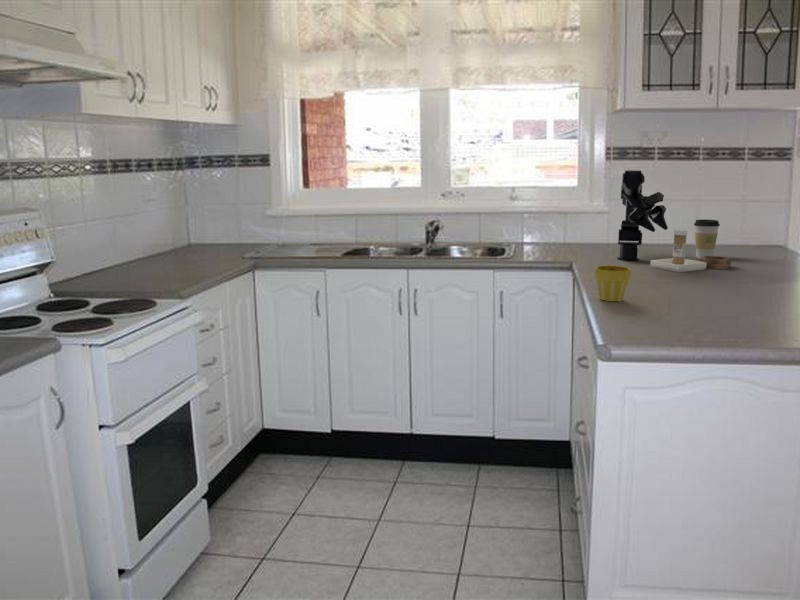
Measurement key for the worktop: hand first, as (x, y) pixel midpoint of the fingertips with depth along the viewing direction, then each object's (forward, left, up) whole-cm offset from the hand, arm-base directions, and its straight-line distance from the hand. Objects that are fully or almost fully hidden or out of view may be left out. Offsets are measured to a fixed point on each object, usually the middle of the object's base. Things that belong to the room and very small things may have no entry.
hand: (660, 230), depth 293 cm
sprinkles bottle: (+7, +2, -13) cm, 15 cm away
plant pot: (+41, -61, -14) cm, 74 cm away
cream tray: (+8, +2, -14) cm, 16 cm away
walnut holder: (+13, +16, -14) cm, 25 cm away
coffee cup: (-7, +33, -14) cm, 37 cm away
